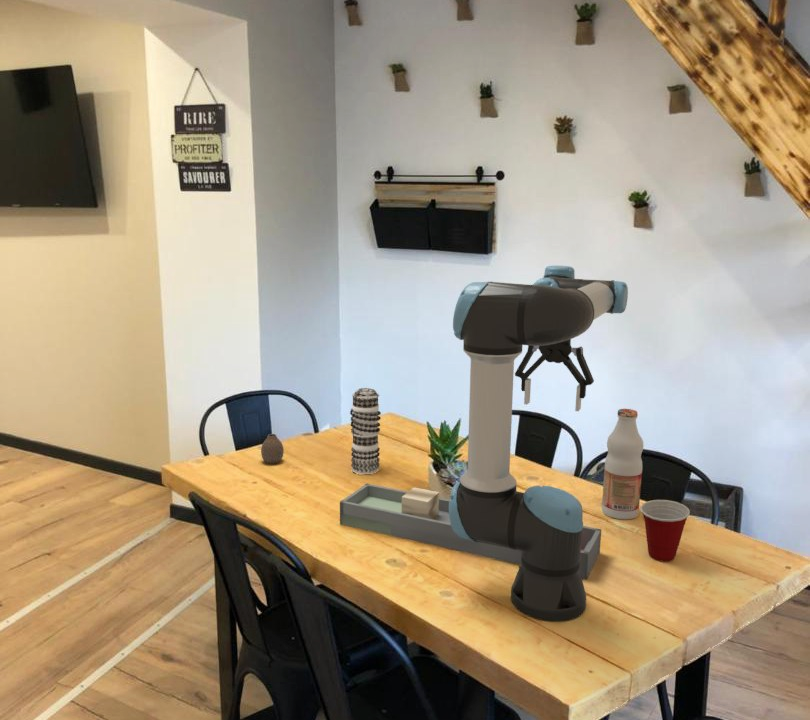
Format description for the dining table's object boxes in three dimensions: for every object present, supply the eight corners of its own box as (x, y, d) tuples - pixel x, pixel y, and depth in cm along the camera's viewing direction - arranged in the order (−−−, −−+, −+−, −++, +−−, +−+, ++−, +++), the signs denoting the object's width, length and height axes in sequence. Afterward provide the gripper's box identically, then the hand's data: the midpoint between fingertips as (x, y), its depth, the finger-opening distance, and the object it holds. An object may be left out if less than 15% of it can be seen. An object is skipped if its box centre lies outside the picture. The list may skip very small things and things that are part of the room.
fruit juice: (594, 509, 200) (601, 408, 194) (621, 503, 204) (628, 404, 198) (618, 522, 192) (626, 417, 186) (646, 516, 196) (655, 413, 190)
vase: (260, 459, 235) (259, 432, 234) (282, 457, 238) (281, 430, 236) (262, 466, 229) (262, 439, 227) (285, 464, 231) (284, 437, 229)
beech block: (427, 525, 182) (427, 502, 181) (401, 519, 185) (401, 496, 184) (438, 514, 188) (439, 492, 187) (413, 509, 191) (413, 487, 190)
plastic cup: (626, 549, 177) (630, 502, 175) (663, 543, 181) (668, 496, 178) (656, 570, 167) (661, 520, 165) (695, 563, 171) (700, 513, 169)
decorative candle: (346, 473, 224) (345, 392, 219) (355, 463, 233) (355, 385, 227) (375, 476, 222) (375, 395, 217) (383, 466, 231) (384, 387, 225)
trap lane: (586, 579, 163) (588, 554, 162) (339, 524, 189) (339, 501, 188) (599, 553, 175) (601, 529, 174) (366, 504, 201) (366, 483, 200)
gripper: (608, 328, 190) (603, 409, 194) (514, 320, 201) (510, 397, 205) (602, 332, 183) (597, 416, 188) (505, 324, 194) (502, 403, 198)
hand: (552, 406), depth 196 cm, fingers open, 13 cm apart
